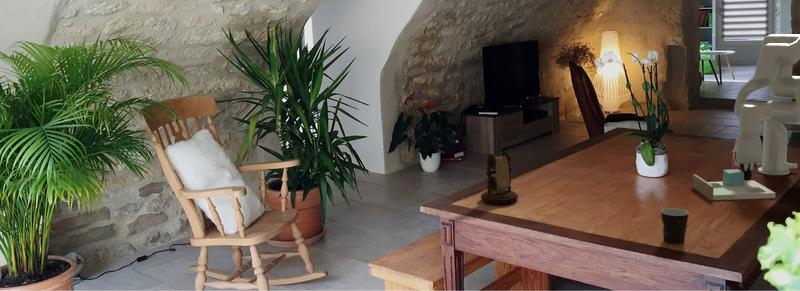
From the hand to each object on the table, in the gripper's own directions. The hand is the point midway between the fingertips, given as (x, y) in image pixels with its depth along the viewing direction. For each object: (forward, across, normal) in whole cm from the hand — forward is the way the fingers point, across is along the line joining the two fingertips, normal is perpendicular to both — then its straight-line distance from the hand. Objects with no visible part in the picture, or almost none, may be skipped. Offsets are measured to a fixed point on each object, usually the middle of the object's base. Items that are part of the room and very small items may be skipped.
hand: (746, 179), depth 323 cm
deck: (+4, +8, +5) cm, 10 cm away
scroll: (+4, +101, +5) cm, 101 cm away
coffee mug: (+4, +51, +62) cm, 80 cm away
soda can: (+4, -2, -13) cm, 14 cm away
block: (+2, +6, 0) cm, 6 cm away
